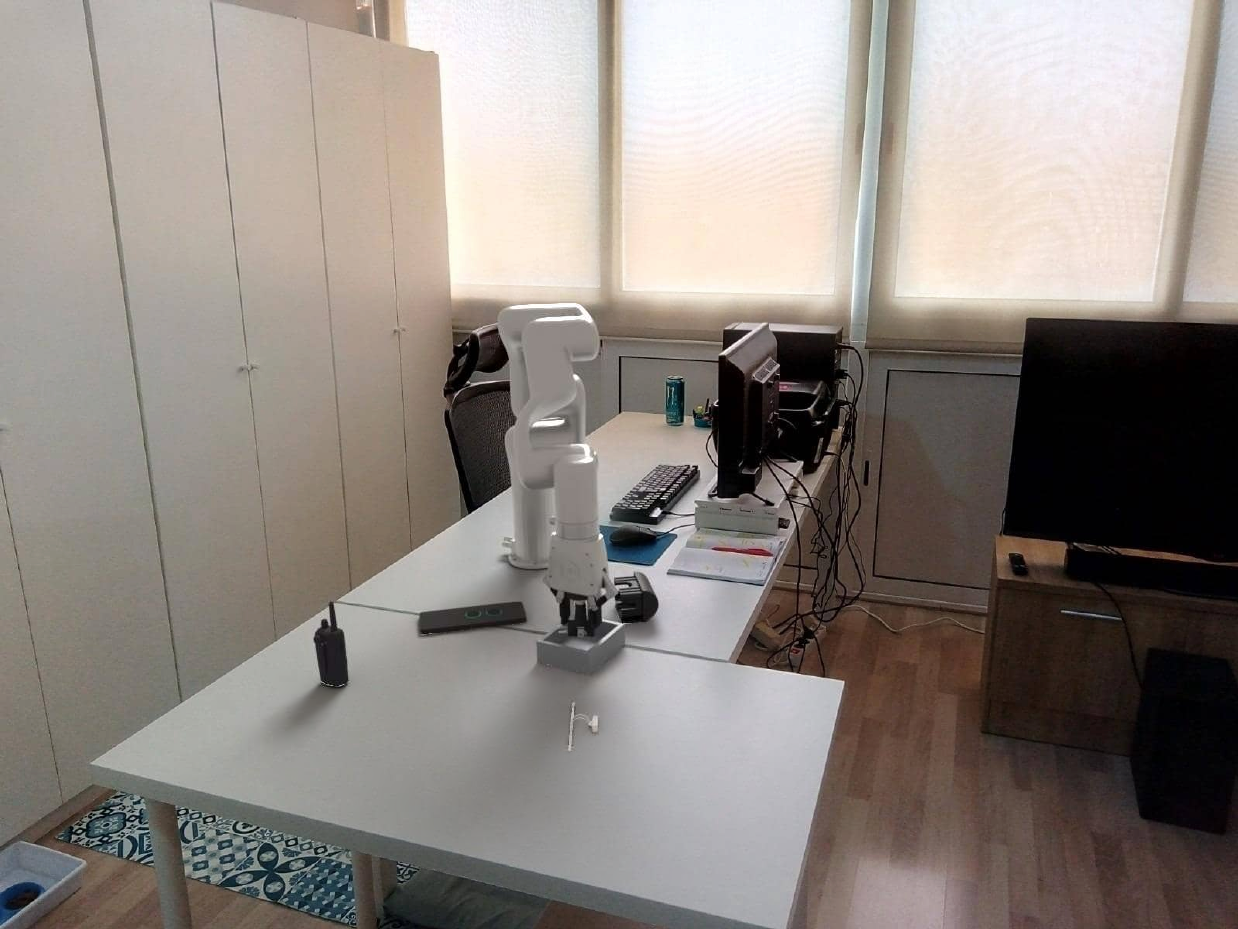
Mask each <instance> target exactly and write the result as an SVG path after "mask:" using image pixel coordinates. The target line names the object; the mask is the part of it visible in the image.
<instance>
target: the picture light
mask: <svg viewBox="0 0 1238 929" xmlns="http://www.w3.org/2000/svg"><path fill="white" fill-rule="evenodd" d="M572 702H573V701H572ZM574 702H575V701H574ZM574 702H573V703H571V704H572V708H574V706H573V705H575V704H576V702H575V703H574ZM572 712H573V711H572ZM578 716H579V717H578ZM580 716H581V717H580ZM582 716H583V717H582ZM585 717H586V718H585ZM573 719H574V720H573ZM573 719H572V720H571V724H570V723H569V726H572V725H573V721H574V722H575V720H578V719H583V720H585V721H586V722H587V723H588V727H589V726H591V727H592V728H591V727H590V728H591V730H592V729H593V730H592V733H598V725H599V715H593V716H592V719H591V720H590V718H589V717H588V716H587V715H585V714H582V713H580V714H577V715H576V714H575V716H574V717H573ZM570 729H571V730H570V732H572V727H571V728H570ZM569 736H572V734H571V733H570V735H569V734H568V738H569V739H572V738H571V737H569ZM569 743H571V740H569ZM567 747H571V745H568V744H567ZM569 749H571V748H569Z"/></svg>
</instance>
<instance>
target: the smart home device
mask: <svg viewBox="0 0 1238 929" xmlns="http://www.w3.org/2000/svg"><path fill="white" fill-rule="evenodd" d="M526 614H527V613H526V611H525V608H524V604H523V601H521V600H517V601H509V602H500V603H499V602H498V603H497V602H496V603H490V604H480V605H471V606H464V607H454V608H447V609H437V610H429V611H427V610H426V611H421V612H419V631H420V632H419V634H420V633H421V634H429V633H438V634H445V633H444V632H446V633H453V632H452V631H454V632H462V631H461V630H463V631H469V630H477V629H486V628H487V629H488V628H495V627H503V626H512V624H514V625H521V624H520V623H522V624H526V623H527V622H528V618H527V615H526ZM421 634H420V635H421ZM429 635H430V634H429Z"/></svg>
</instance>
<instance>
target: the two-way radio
mask: <svg viewBox="0 0 1238 929" xmlns="http://www.w3.org/2000/svg"><path fill="white" fill-rule="evenodd" d="M328 610H329V611H328V612H329V621H330V622H329V621H328V619H327V618H323V619H321V621H320V627H318V628H317V630H315V632H314V636H313V643H314V646H315V647H314V648H315V652H316V653H315V654H316V659H317V665H318V672H319V678H320V682H321V681H322V682H324V683H325V684H329V685H333V686H339V685H342V684H346V683H347V682H348V681H350V680H349V669H348V668H349V667H348V656H347V647H346V637H345V633H344V629H342V628H340V627H338V623H337V617H336V610H335V603H334V601H329V602H328ZM329 623H330V625H329ZM348 683H349V682H348ZM348 683H347V684H348ZM347 684H346V685H347Z"/></svg>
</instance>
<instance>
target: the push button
mask: <svg viewBox="0 0 1238 929" xmlns="http://www.w3.org/2000/svg"><path fill="white" fill-rule="evenodd" d="M566 597H567V598H569V599H570V612H571V616H569V620H568V626H559V629H561V627H562V628H565V629H568V630H565V631H559V633H568V636H569V637H575V636H578V637H584V636H589V637H594V636H595V630H594V631H589V626H588V610H589V609H591V607H590V603H589V600H588V596H583V595H578V594H573V593H568V592H566ZM574 613H575V618H574Z"/></svg>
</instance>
